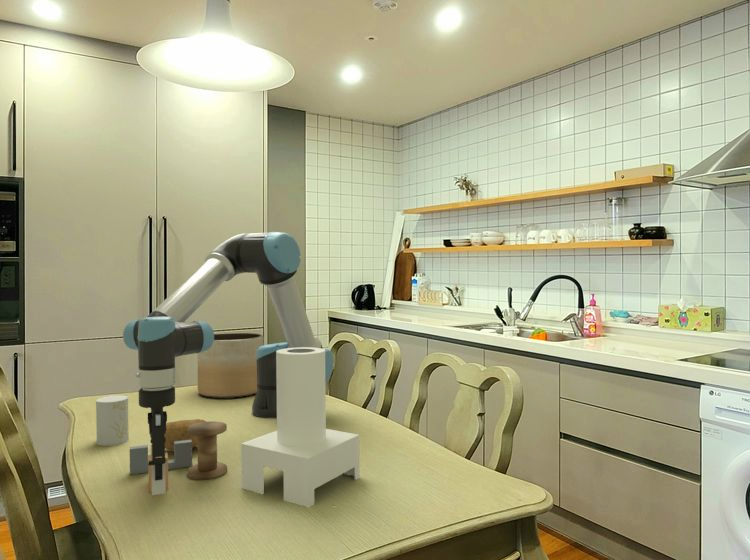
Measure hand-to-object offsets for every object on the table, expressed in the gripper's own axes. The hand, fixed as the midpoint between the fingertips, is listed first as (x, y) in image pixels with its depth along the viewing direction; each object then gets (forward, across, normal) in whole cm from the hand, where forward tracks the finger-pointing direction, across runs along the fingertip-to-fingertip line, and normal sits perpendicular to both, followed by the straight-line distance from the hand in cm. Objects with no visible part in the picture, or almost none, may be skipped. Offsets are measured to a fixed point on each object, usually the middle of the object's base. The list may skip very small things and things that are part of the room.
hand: (157, 482), depth 123 cm
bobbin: (+1, -5, +11) cm, 12 cm away
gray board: (+1, -12, +1) cm, 12 cm away
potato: (+1, -25, +7) cm, 26 cm away
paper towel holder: (+1, +10, +30) cm, 32 cm away
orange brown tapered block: (+1, 0, 0) cm, 1 cm away
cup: (+1, -41, -11) cm, 43 cm away
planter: (+1, -91, +29) cm, 96 cm away
